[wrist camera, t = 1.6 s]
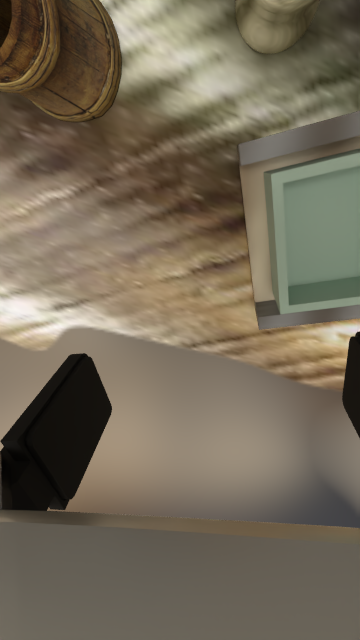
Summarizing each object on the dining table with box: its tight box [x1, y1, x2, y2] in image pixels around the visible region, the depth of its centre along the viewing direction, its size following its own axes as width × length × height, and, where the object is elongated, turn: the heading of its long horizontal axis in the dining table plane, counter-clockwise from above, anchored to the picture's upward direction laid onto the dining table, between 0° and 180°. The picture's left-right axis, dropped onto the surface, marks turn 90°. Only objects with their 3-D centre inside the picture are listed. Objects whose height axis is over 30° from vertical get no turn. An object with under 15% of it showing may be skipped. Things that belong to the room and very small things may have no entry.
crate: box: [264, 148, 360, 314], centre depth 24 cm, size 10×12×5 cm
